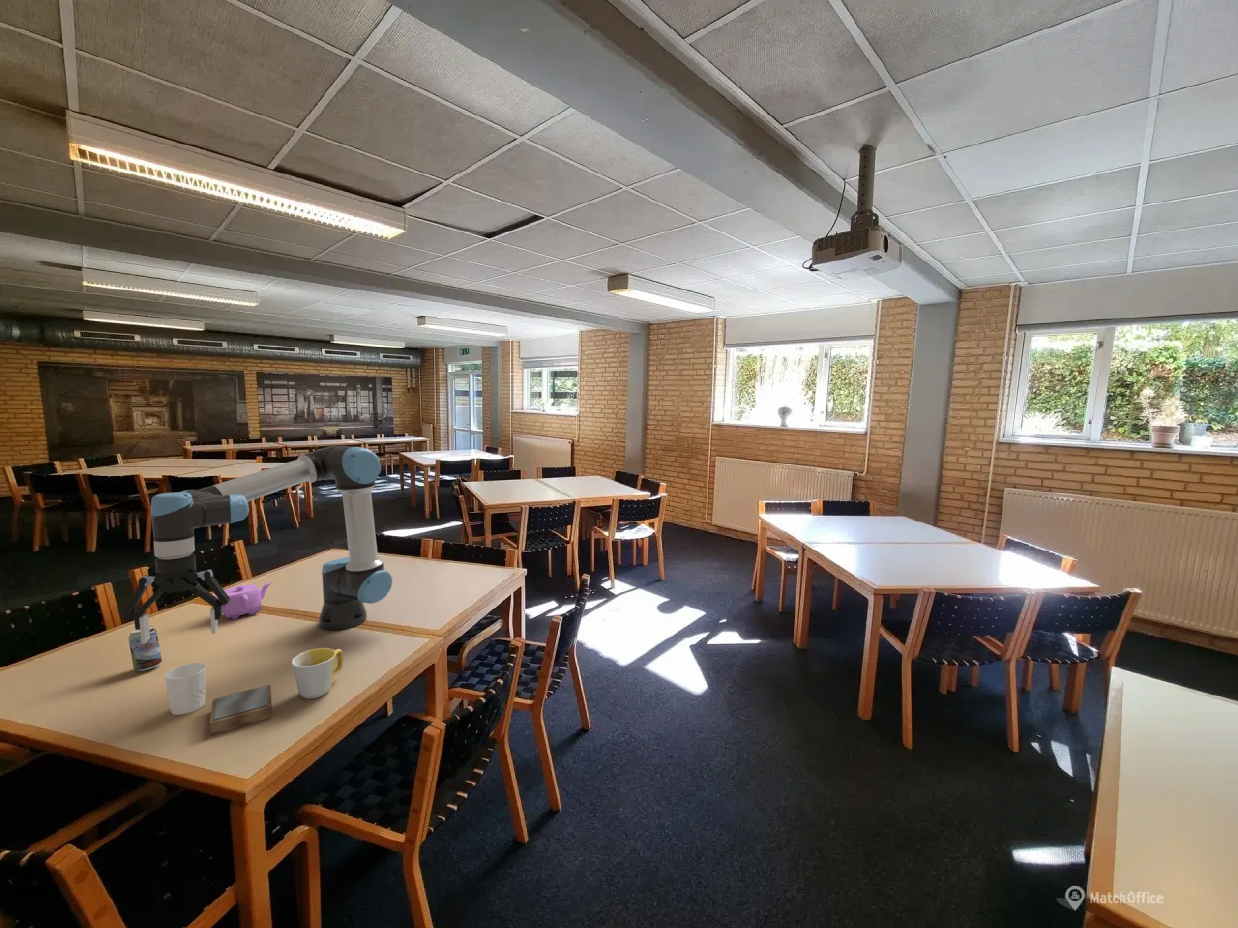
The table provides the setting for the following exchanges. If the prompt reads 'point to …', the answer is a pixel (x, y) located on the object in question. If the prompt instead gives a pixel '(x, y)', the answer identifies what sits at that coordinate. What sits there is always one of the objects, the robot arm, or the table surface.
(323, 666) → the mug
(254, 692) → the walnut picture frame
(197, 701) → the white cup
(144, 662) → the beverage can
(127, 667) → the table surface
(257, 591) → the teapot
